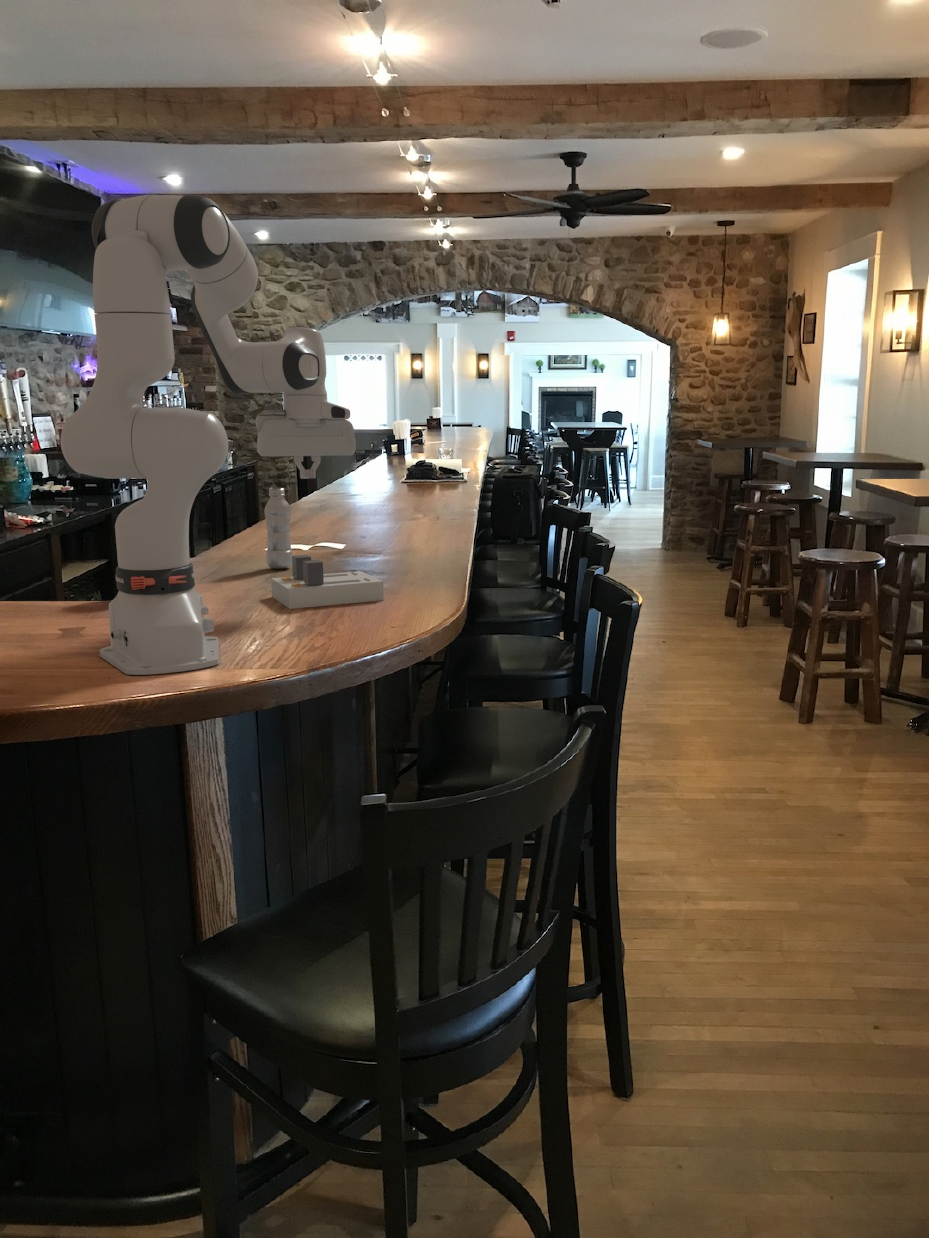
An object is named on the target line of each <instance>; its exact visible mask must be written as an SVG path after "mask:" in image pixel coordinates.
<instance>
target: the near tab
mask: <svg viewBox="0 0 929 1238" xmlns="http://www.w3.org/2000/svg"><path fill="white" fill-rule="evenodd" d="M303 574H304V583H305V584H307V585H318V584H324V580H323V574H324V562H323V561H321V560H320V559H314V560H312V559H311V560H310V561H303Z"/></svg>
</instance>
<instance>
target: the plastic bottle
mask: <svg viewBox="0 0 929 1238" xmlns="http://www.w3.org/2000/svg"><path fill="white" fill-rule="evenodd" d="M268 496H269V500H268V501H267V502H266V504H265V507H264V511H263V512H264V517H265V523H266V524H265V525H266V530H267V548H266V549H267V550H266V555H265V561H266V562H265V563H266V565H267V567H268V568H270V569H275V570H283V569H284V570H285V569H286V568H287V569H288V568H290V567H292V556H294V554H293V551H292V547H291V545H292V543H291V535H290V534H291V533H290V530H291V518H292V517H291V516H292V508H291V506H290V503H288V501H287V500H286V498H285V496H286V493H285V488H284V487H270V488H268Z"/></svg>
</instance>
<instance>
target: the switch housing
mask: <svg viewBox="0 0 929 1238" xmlns="http://www.w3.org/2000/svg"><path fill="white" fill-rule="evenodd" d="M323 580H324V584H318V585H307V584H305V583H304V579H296V578H294V577H293V576H284V577H283V576H282V577H272V578H270V582H271V597H272V598H273V599H274V600H276V601H278V602H279V603H280V604H281V605H284V606H285V607H286V608H288V609H289V610H293V609H304V608H305V607H306V608H314V607H315V608H316V607H326V606H337V605H344V604H347V605H348V604H357V603H359V604H360V603H367V602H380V601H384V600H385V598H384V596H385V595H384V593H385V591H384V589H385V588H384V580H381V579H379V578H376V577H374V576H372V575H370V574H368V573H365V572H363V571H362V570H358V571H357V570H356V571H348V572H332V573H323Z"/></svg>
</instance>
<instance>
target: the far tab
mask: <svg viewBox="0 0 929 1238" xmlns="http://www.w3.org/2000/svg"><path fill="white" fill-rule="evenodd" d="M310 560H312V556H310V555H308V554H299V555H293V556H292V565H291V567H292V577H294V578H296V579H304V574H303V561H310Z"/></svg>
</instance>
